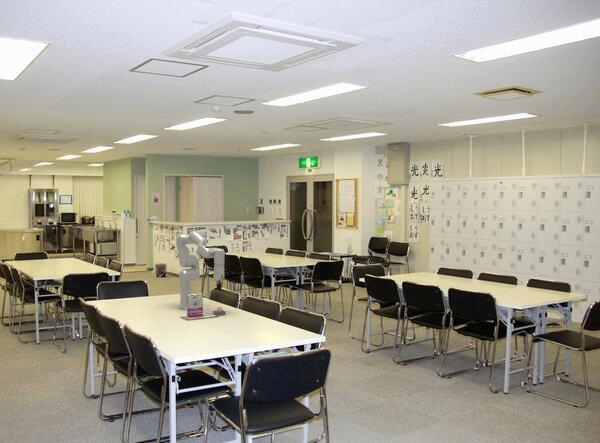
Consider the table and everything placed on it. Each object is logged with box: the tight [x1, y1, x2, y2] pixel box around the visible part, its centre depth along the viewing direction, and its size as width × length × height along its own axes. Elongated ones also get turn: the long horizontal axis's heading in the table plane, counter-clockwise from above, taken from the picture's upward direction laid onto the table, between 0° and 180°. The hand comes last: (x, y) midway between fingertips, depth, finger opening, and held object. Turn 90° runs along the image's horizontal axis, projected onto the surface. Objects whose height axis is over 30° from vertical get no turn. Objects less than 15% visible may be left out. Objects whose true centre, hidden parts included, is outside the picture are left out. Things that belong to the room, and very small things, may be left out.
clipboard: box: [179, 312, 219, 322], centre depth 410 cm, size 15×24×1 cm, turn 123°
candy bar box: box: [186, 293, 204, 317], centre depth 408 cm, size 11×5×16 cm, turn 114°
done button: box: [216, 306, 223, 312], centre depth 419 cm, size 4×4×5 cm
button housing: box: [212, 309, 227, 317], centre depth 419 cm, size 7×7×3 cm
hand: (218, 289), depth 419 cm, fingers closed
